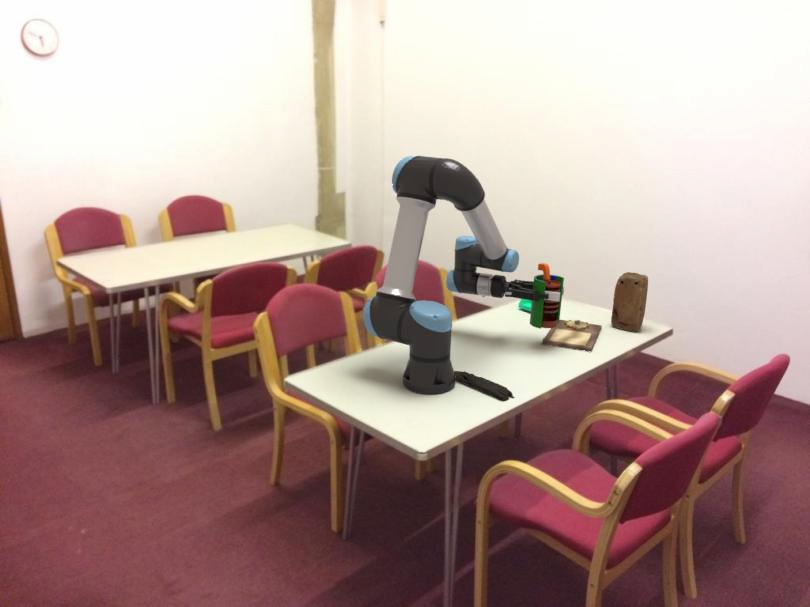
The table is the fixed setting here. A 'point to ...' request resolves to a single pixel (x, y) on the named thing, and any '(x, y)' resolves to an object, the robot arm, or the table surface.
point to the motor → (546, 310)
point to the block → (629, 301)
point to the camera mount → (525, 304)
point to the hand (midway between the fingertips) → (561, 294)
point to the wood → (484, 385)
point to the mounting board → (573, 335)
